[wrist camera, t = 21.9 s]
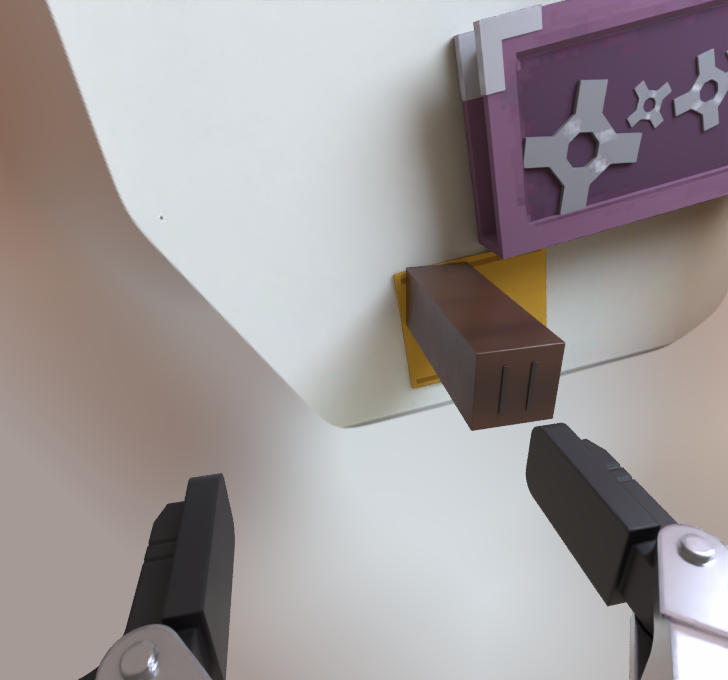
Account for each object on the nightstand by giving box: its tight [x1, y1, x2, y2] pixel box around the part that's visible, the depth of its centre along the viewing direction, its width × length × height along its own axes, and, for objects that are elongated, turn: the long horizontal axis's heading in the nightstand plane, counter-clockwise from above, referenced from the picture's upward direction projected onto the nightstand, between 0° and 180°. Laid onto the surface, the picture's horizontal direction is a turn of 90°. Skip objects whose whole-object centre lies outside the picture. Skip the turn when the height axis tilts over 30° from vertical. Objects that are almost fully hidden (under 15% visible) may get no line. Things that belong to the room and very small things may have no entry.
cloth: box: [394, 247, 546, 389], centre depth 45 cm, size 14×12×1 cm
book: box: [454, 0, 728, 260], centre depth 37 cm, size 25×16×5 cm, turn 103°
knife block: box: [406, 262, 565, 431], centre depth 36 cm, size 6×6×16 cm
